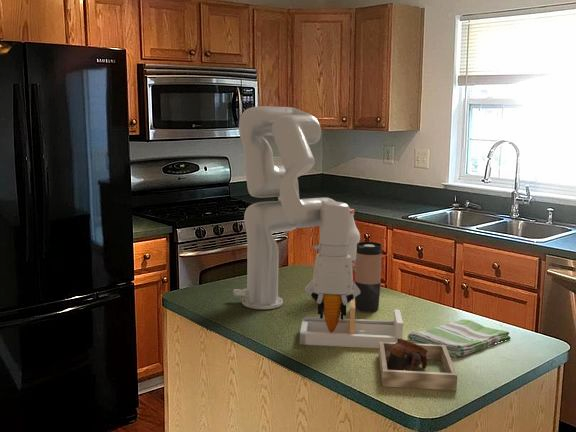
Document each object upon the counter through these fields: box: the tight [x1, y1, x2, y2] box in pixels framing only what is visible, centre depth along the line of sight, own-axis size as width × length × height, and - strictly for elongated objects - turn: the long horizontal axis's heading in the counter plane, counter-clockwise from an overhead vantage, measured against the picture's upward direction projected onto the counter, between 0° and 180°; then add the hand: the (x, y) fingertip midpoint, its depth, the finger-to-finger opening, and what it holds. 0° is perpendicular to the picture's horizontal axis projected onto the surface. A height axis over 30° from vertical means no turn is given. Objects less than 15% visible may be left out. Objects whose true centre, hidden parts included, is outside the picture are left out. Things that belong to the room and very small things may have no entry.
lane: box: [299, 309, 404, 349], centre depth 169 cm, size 26×11×7 cm, turn 85°
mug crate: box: [378, 342, 458, 391], centre depth 149 cm, size 16×18×4 cm
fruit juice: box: [347, 208, 361, 296], centre depth 208 cm, size 9×9×28 cm
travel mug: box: [354, 241, 383, 313], centre depth 194 cm, size 8×8×20 cm
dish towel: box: [407, 318, 511, 359], centre depth 171 cm, size 17×23×4 cm
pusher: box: [349, 299, 366, 334], centre depth 168 cm, size 4×7×9 cm, turn 175°
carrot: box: [322, 294, 342, 333], centre depth 168 cm, size 5×5×15 cm
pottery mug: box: [386, 338, 428, 371], centre depth 149 cm, size 12×10×8 cm
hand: (331, 316), depth 169 cm, fingers closed on carrot, 4 cm apart
